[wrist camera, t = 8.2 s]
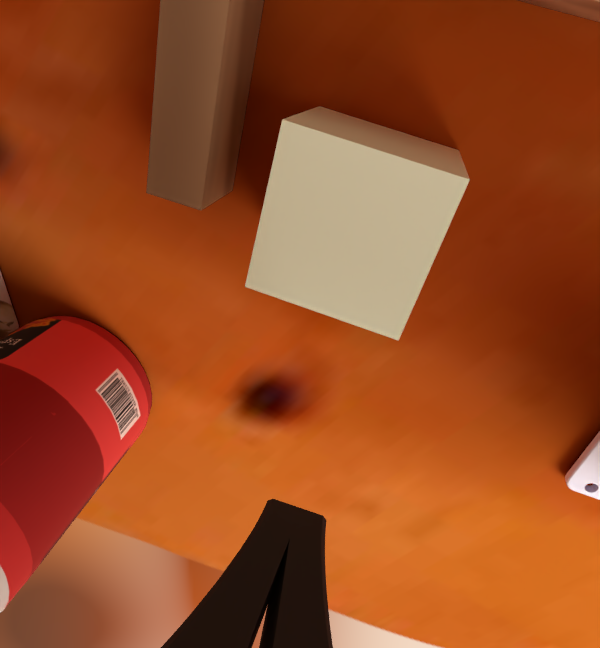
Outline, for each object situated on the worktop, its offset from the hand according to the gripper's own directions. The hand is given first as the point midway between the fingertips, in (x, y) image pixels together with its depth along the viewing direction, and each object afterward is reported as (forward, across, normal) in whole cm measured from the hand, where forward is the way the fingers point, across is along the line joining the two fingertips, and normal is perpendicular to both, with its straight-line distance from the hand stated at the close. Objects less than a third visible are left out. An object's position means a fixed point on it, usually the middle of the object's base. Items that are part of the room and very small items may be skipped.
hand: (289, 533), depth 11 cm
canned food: (+11, +12, +8) cm, 18 cm away
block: (+10, +1, -5) cm, 12 cm away
